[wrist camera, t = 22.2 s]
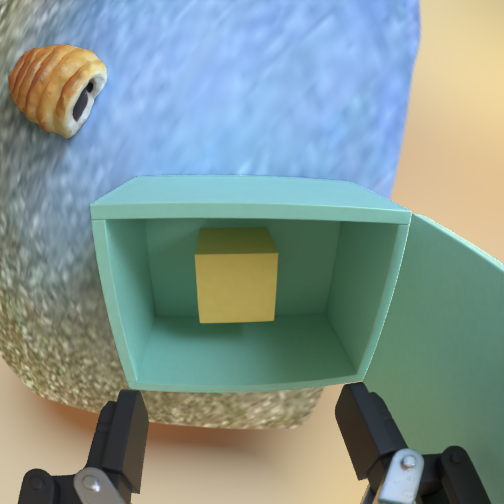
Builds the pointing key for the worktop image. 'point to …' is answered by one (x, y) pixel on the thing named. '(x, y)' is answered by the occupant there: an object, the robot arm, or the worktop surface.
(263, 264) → the block
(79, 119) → the pastry
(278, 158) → the worktop surface
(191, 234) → the cool box
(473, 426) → the lid
